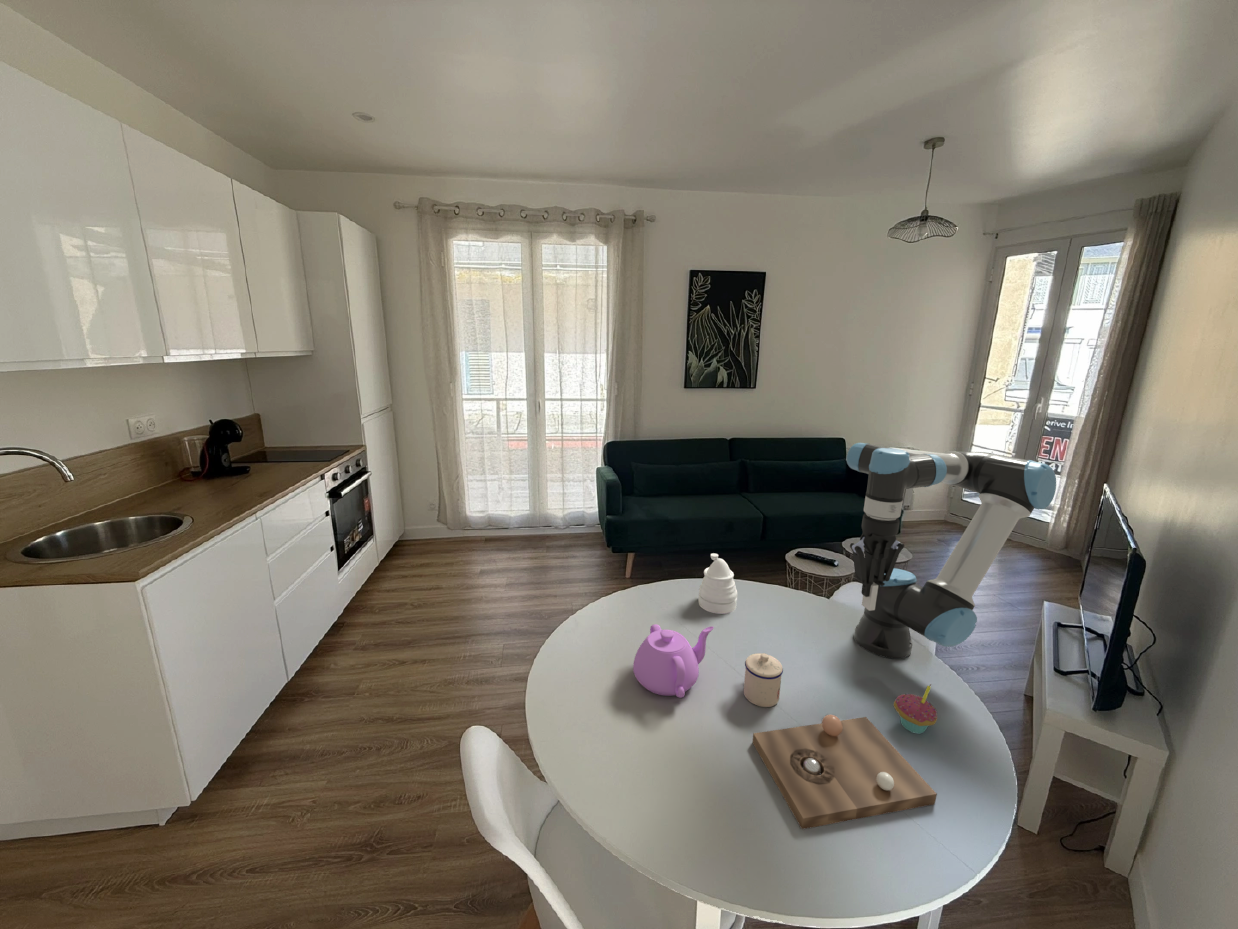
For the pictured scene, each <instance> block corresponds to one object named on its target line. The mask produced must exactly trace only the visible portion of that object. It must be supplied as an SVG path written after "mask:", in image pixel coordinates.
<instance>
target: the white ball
mask: <svg viewBox="0 0 1238 929" xmlns="http://www.w3.org/2000/svg"><path fill="white" fill-rule="evenodd" d="M876 780H877V783H878V785H879V786H880V787H881V788H882V789H883V790H887V791H888V790H891V789H892V788H893V787H894V780H893V778H892V777H891V776H890V775H889V774H888V773H886V772H880V773H879V774H878V775H877V778H876Z"/></svg>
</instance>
